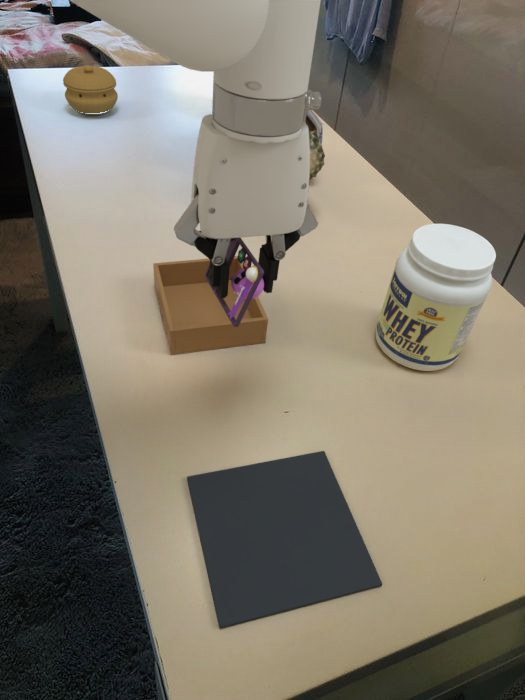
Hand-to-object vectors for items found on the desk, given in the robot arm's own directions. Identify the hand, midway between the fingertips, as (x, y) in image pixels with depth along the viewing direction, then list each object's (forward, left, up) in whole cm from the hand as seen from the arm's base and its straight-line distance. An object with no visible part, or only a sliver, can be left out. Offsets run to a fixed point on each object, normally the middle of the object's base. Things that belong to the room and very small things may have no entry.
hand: (242, 286), depth 57 cm
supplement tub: (+28, +5, -18) cm, 34 cm away
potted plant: (+21, +52, -18) cm, 58 cm away
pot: (-11, +94, -18) cm, 96 cm away
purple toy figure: (0, 0, -2) cm, 2 cm away
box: (0, +17, -17) cm, 24 cm away
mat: (0, -18, -17) cm, 25 cm away
